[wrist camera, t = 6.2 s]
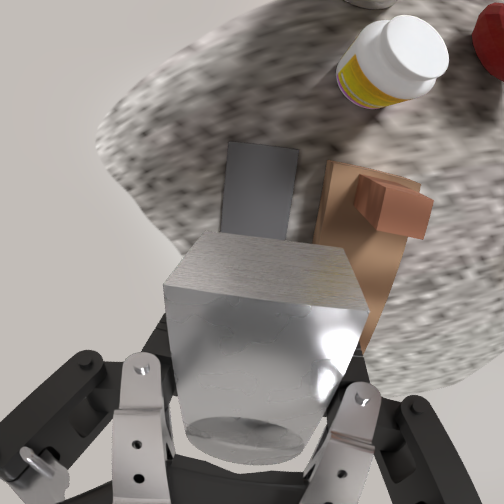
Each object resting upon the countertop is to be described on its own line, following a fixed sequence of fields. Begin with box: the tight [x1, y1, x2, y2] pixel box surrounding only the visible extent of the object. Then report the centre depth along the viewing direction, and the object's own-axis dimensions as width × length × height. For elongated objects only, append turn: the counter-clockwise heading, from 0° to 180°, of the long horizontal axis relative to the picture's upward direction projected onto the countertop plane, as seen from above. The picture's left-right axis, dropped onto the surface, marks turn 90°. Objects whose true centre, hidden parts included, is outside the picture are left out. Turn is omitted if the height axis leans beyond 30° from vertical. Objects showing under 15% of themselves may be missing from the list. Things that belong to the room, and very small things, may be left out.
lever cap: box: [163, 231, 370, 465], centre depth 10 cm, size 11×5×4 cm, turn 175°
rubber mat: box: [221, 141, 299, 240], centre depth 29 cm, size 12×7×1 cm, turn 173°
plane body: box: [312, 160, 434, 354], centre depth 26 cm, size 23×9×11 cm, turn 173°
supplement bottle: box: [336, 15, 449, 109], centre depth 16 cm, size 7×7×13 cm
